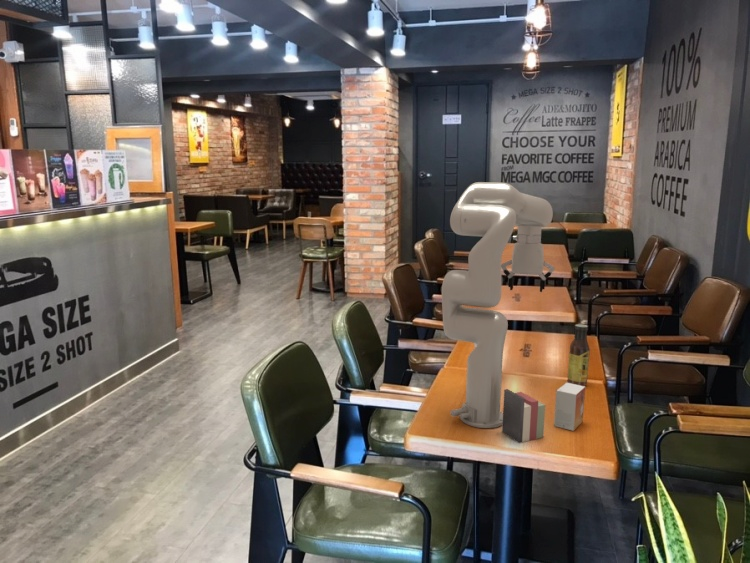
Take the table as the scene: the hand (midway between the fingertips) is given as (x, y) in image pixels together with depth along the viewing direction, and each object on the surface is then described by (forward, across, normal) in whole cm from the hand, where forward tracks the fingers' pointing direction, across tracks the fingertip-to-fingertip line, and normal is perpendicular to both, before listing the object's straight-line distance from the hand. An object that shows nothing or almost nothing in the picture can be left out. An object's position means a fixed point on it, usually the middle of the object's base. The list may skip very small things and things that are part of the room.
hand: (526, 290), depth 195 cm
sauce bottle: (+30, +18, -3) cm, 35 cm away
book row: (+30, +4, -48) cm, 56 cm away
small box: (+30, +15, -37) cm, 50 cm away
